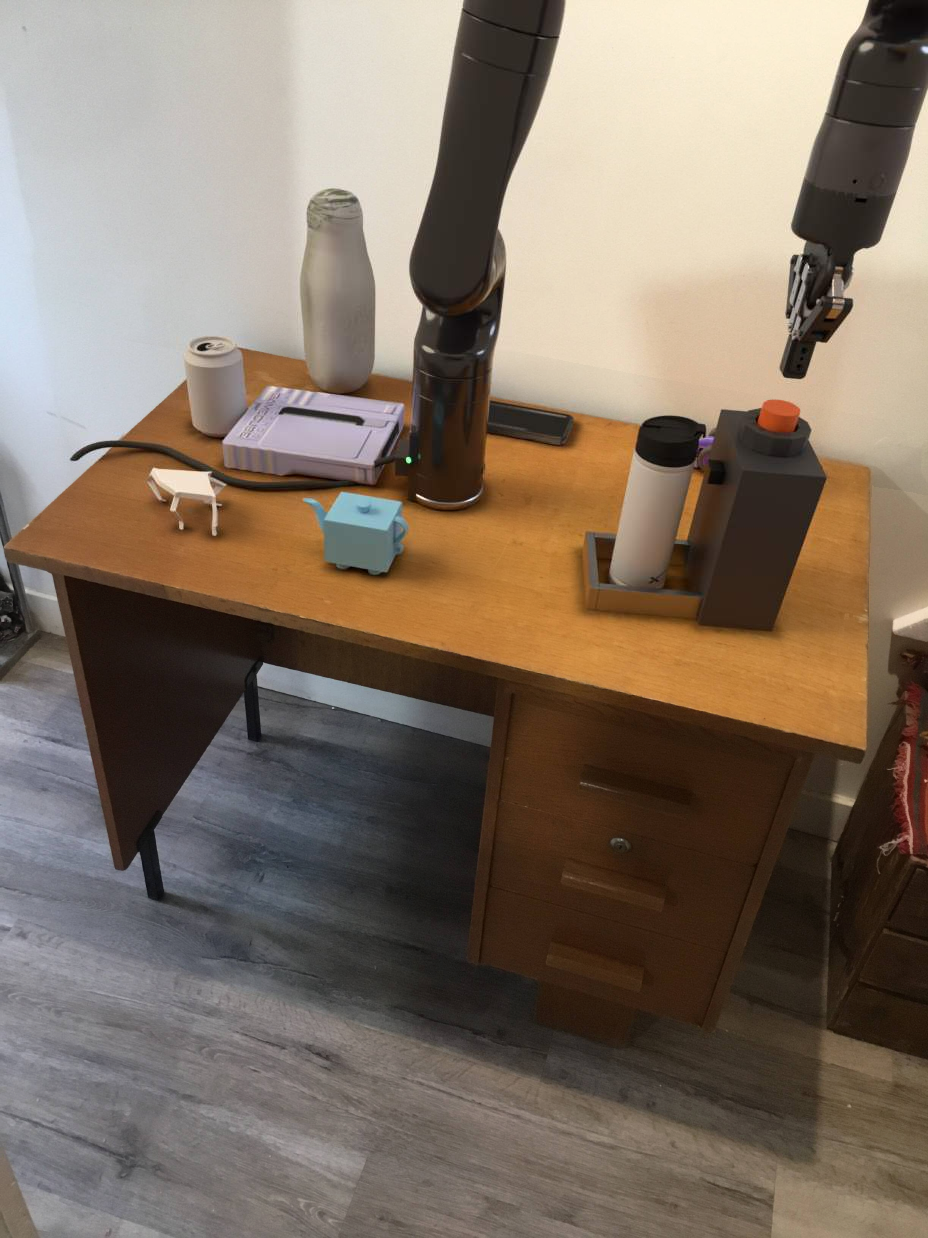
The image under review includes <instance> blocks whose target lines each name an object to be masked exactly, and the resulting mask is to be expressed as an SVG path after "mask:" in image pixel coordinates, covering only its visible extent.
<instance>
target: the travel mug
mask: <svg viewBox="0 0 928 1238" xmlns="http://www.w3.org/2000/svg"><path fill="white" fill-rule="evenodd" d="M702 437H703V438H705V437H707V426H706V424H705V423H699V422H697V421H696V420H694V419H691V418H689V417H686V416H680V415H671V414H670V415H668V414H667V415H658V416H653V417H650V418H647V419H645V420H644V421H643V422H642V424H641V425H640V426H639V428H638V431H637V437H636V441H635V446H634V449H633V455H632V459H631V465H630V468H629V474H628V478H627V483H626V487H625V493H624V498H623V503H622V506H621V507H622V508H621V513H620V518H619V523H618V527H617V531H616V534H617V537H616V542H615V547H614V551H613V556H612V559H611V562H610V567H609V571H608V577H607V578H608V579H607V581H608V584H613V585H625V586H636V587H648V588H659V589H664V588H665V587H664V586H665V583H666V579H667V575H668V571H669V567H670V565H671V564H670V560H671V556H672V552H673V548H674V544H675V540H676V539H677V536H678V532H679V529H680V524H681V520H682V516H683V512H684V508H685V504H686V502H687V501H686V500H687V496H688V492H689V488H690V484H691V480H692V476H693V472H694V468H695V467H694V464H695V461H696V458H697V455H698V453H697V451H698V447H699V439H700V438H702ZM698 452H699V451H698Z"/></svg>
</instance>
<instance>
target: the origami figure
mask: <svg viewBox="0 0 928 1238" xmlns="http://www.w3.org/2000/svg"><path fill="white" fill-rule="evenodd" d="M211 473H212V472H204V471H195V470H182V469H167V468H166V469H165V468H156V467H152V469H151V471H150V473H149V475H148V478H147V479H146V482H147V484H148V486H149V487H150V489H151V490H152V492H153V493H154V495H155V497H156V498H157V499H158V501H160V502H164V503H165V502H167V499H163V497H162V496H161V494H160V492H159V490H158V487H157V486H159V487H160V488H161V489H163V490H164V491H166V492H167V493H170V494H171V495H172V496H173V499H172V502H171V505H170V509H169V511H170V512H171V513H172V515H174V517H175V518H176V519H177V520H178V525H179V530H182V531H184V524H185V523H184V520H183V518H181V516H180V514H179V513H178V511H177V507H178V504H179V501H180V498H181V499H188V500H197V501H203V502H202V504H205V505H210V506H211V507H212V522H211V533H212V536H215V537H216V536H217V535H218V532H217V527H218V526H219V519H218V518H219V517H218V507H221V506H223V504H222V503H217V499H216V496H218V495H219V493H220V492H222V490H223V489H224V488H226V486H228V483H226V482H223V481H221V480H219V479H217V478H215V477H213V476H211ZM153 480H154V481H155V482H154V481H153ZM155 483H156V484H157V486H156V484H155ZM212 486H215V487H212ZM217 506H218V507H217Z"/></svg>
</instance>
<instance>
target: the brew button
mask: <svg viewBox="0 0 928 1238" xmlns="http://www.w3.org/2000/svg"><path fill="white" fill-rule="evenodd" d="M761 408H762V409H761V412H760V415H759V419H758V422H757V423H758V425H760V426H761V427H763V428H764V429H766V430H770V431H773V432H777V433H791V432H794V430H795V427H796V424H797V421H798V418H799V417H800V415H801V409H800V407H799V406H798V405H796V404H795V403H792V402H790V401H787V400H784V399H783V400H782V399H767V400H765V401H764V402H763V403H762V406H761Z"/></svg>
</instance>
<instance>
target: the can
mask: <svg viewBox="0 0 928 1238" xmlns="http://www.w3.org/2000/svg"><path fill="white" fill-rule="evenodd" d="M186 347H187V350H186V351H185V352H184V354H183V363H184V370H185V378H186V387H187V393H188V400H189V409H190V415H191V422H192V426H193V427H194V428H195V429H196V430H197V431H199V432H201V434H204V435H205V436H209V437H214V438H223V437H224V438H225V437H226V436H227V435H228V434H229V432H230V431H231V430H232V429H233V428H234V426H235V425H236V424H237V423H238V421H239V420H240V419H241V418H242V416H243V415H244V414H245V413H246V411H247V410H248V400H247V399H248V398H247V389H246V379H245V370H244V369H245V368H244V359H243V353H242V351H241V350H240V349H238V347H237V342H236V341H235V340H234V339H233V338H231V337H227V336H224V335H214V334H211V335H210V334H209V335H201V336H197V337H194V338H192V339H191V340H189V341H188V342H187V344H186Z"/></svg>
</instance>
